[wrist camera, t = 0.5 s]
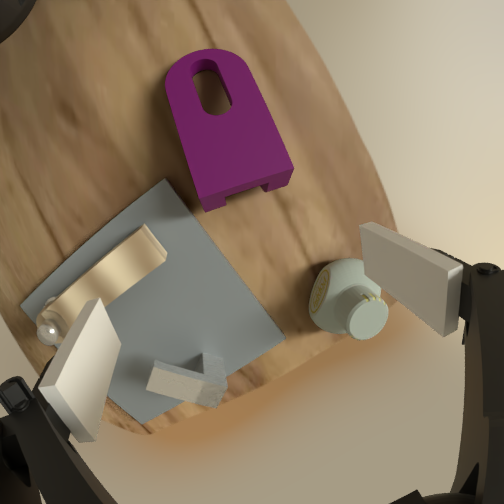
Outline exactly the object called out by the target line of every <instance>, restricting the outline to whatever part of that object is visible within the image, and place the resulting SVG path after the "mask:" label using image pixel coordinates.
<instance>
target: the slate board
mask: <svg viewBox="0 0 504 504" xmlns="http://www.w3.org/2000/svg"><path fill="white" fill-rule="evenodd" d="M144 223H145V225H146V226H147V227H148V229H149V230H150V231H151V232H152V234H153V235H154V236H155V238H156V239H157V240H158V241H159V243H160V244H161V245H162V247H163V248H164V249H165V250H166V252H167V257H166V261H165V262H163V263H162V264H161V265H159V266H158V267H157V268H155V269H154V270H153V271H151V272H150V273H149V274H147V275H146V276H145V277H143V278H142V279H141V280H139V281H138V282H137V283H135V284H134V285H133V286H131V287H130V288H129V289H128V290H126V291H125V292H124V293H122V294H121V295H120V296H118V297H117V298H116V299H115V300H113V301H112V302H111V303H109V304H108V305H107V306H106V307H104V308H105V310H106V312H107V314H108V317H109V319H110V321H111V323H112V325H113V328H114V330H115V332H116V334H117V336H118V338H119V340H120V342H121V347H120V351H119V354H118V357H117V361H116V364H115V368H114V371H113V375H112V378H111V382H110V386H109V389H108V393H107V396H108V397H109V398H110V399H111V400H113V401H114V402H115V403H116V404H117V405H119V406H120V407H121V408H122V409H123V410H125V411H126V412H127V413H128V414H130V415H131V416H132V417H133V418H135V419H136V420H137V421H138V422H140V423H141V424H143V423H145V422H147V421H149V420H151V419H153V418H155V417H157V416H159V415H160V414H162V413H164V412H166V411H168V410H170V409H171V408H173V407H175V406H177V405H179V404H181V403H182V402H184V400H180V399H176V398H173V397H169V396H165V395H162V394H158V393H155V392H151V391H148V390H146V384H147V380H148V377H149V374H150V371H151V369H152V366H153V363H154V360H157V361H161V362H164V363H167V364H170V365H174V366H177V367H180V368H184V369H187V370H191V371H195V368H196V366H197V364H198V362H199V359H200V357H201V355H202V353H206V354H210V355H213V356H217V357H220V358H223V364H224V369H225V375H226V377H227V376H228V375H230V374H232V373H233V372H235V371H237V370H238V369H240V368H241V367H243V366H245V365H246V364H248V363H249V362H251V361H253V360H254V359H256V358H257V357H259V356H260V355H262V354H263V353H265V352H267V351H268V350H270V349H271V348H273V347H274V346H276V345H277V344H279V343H280V342H282V341H283V340H285V339H286V337H285V335H284V333H283V332H282V331H281V329H280V328H279V327H278V326H277V324H276V323H275V322H274V320H273V319H272V318H271V317H270V315H269V314H268V313H267V311H266V310H265V309H264V308H263V306H262V305H261V304H260V302H259V301H258V300H257V298H256V297H255V296H254V295H253V293H252V292H251V291H250V289H249V288H248V287H247V285H246V284H245V283H244V281H243V280H242V279H241V278H240V276H239V275H238V274H237V272H236V271H235V270H234V268H233V267H232V266H231V264H230V263H229V262H228V260H227V259H226V258H225V256H224V255H223V254H222V252H221V251H220V250H219V248H218V247H217V246H216V245H215V243H214V242H213V241H212V239H211V238H210V236H209V235H208V234H207V232H206V231H205V230H204V228H203V227H202V226H201V224H200V223H199V222H198V220H197V219H196V218H195V216H194V215H193V214H192V212H191V211H190V210H189V208H188V207H187V206H186V204H185V203H184V201H183V200H182V199H181V197H180V196H179V195H178V193H177V192H176V191H175V189H174V188H173V186H172V185H171V184H170V182H169V181H168V180H167V178H164V179H163V180H162V181H160V182H159V183H158V184H156V185H155V186H154V187H153V188H151V189H150V190H149V191H147V192H146V193H145V194H143V195H142V196H141V197H140V198H138V199H137V200H136V201H135V202H133V203H132V204H131V205H130V206H128V207H127V208H126V209H125V210H123V211H122V212H121V213H120V214H119V215H117V216H116V217H115V218H114V219H113V220H111V221H110V222H109V223H108V224H107V225H105V226H104V227H103V228H102V229H101V230H100V231H98V232H97V233H96V234H95V235H94V236H93V237H91V238H90V239H89V240H88V241H87V242H86V243H85V244H84V245H82V246H81V247H80V248H79V249H78V250H77V251H76V252H75V253H74V254H72V255H71V256H70V257H69V258H68V259H67V260H66V261H65V262H64V263H63V264H62V265H61V266H59V267H58V268H57V269H56V270H55V271H54V272H53V273H52V274H51V275H50V276H49V277H48V278H47V279H46V280H45V281H44V282H43V283H42V284H41V285H40V286H39V287H38V288H37V289H36V290H35V291H34V292H33V293H32V294H31V295H30V296H29V297H28V298H27V299H26V300H25V301H24V302H23V303H22V304H21V305H20V307H21V308H22V309H23V310H24V312H25V313H26V314H27V315H28V316H29V318H30V319H31V320H32V321H33V322H34V323H35V325H36V326H37V324H36V319H37V316H38V314H39V313H40V312H41V310H42V309H43V308H44V305H45V303H46V301H47V300H48V299H49V298H51V297H54V296H59V295H60V294H61V293H62V292H63V291H64V290H65V289H66V288H68V287H69V286H70V285H71V284H72V283H73V282H74V281H75V280H77V279H78V278H79V277H80V276H81V275H82V274H83V273H85V272H86V271H87V270H88V269H89V268H90V267H92V266H93V265H94V264H95V263H96V262H97V261H99V260H100V259H101V258H102V257H103V256H105V255H106V254H107V253H108V252H109V251H111V250H112V249H113V248H114V247H115V246H117V245H118V244H119V243H120V242H122V241H123V240H124V239H125V238H127V237H128V236H129V235H130V234H132V233H133V232H134V231H135V230H137V229H138V228H139V227H140V226H142V225H143V224H144ZM61 344H62V343H59V344H56V343H55V344H54V345H55V346H56V347H57V349H59V347H60V346H61Z"/></svg>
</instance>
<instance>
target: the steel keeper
mask: <svg viewBox="0 0 504 504" xmlns="http://www.w3.org/2000/svg"><path fill="white" fill-rule="evenodd" d="M227 387H228V386H227V381H226V375H225V369H224V364H223V358H220V357H217V356H213V355H210V354H206V353H202V355H201V357H200V359H199V362H198V364H197V366H196V368H195V371H191V370H187V369H184V368H180V367H177V366H174V365H170V364H167V363H164V362H161V361H157V360H154V363H153V366H152V369H151V371H150V374H149V377H148V380H147V384H146V390H148V391H151V392H155V393H158V394H162V395H165V396H169V397H173V398H176V399H180V400H184V401H188V402H192V403H196V404H200V405H204V406H208V407H213V408H217V406H218V404H219V403H220V401H221V399H222V397H223V395H224V393H225V391H226V389H227Z"/></svg>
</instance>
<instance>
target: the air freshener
mask: <svg viewBox="0 0 504 504" xmlns="http://www.w3.org/2000/svg"><path fill="white" fill-rule="evenodd" d="M380 293H381V287H380V286H378V285H377V284H376V283H375V282H373V281H372V280H371V279H369V278H368V277H367V276H365V274H364V263H363V261H362V260H359V259H355V258H344V259H339V260H336V261H334V262H332V263H330V264H328V265H327V266H325V267H324V268H323V269H322V270H321V271H320V273H319V275H318V277H317V279H316V281H315V283H314V286H313V289H312V292H311V296H310V301H309V314H310V317H311V319H312V320H313V321H314V323H315V324H316V325H317V326H318V327H319V328H321V329H323V330H324V331H327V332H330V333H335V334H344V333H348V334H349V335H350V336H351V337H352V338H353V339H357V340H366V339H369V338H371V337H373V336H375V335H376V334H377V333H378V332H380V331H381V329H382V328H383V327H384V325H385V323H386V321H387V317H388V307H387V305H386V303H385V302H384V301H383V300H382V299H381V298H380Z"/></svg>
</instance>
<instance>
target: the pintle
mask: <svg viewBox="0 0 504 504" xmlns="http://www.w3.org/2000/svg"><path fill="white" fill-rule="evenodd" d="M56 297H58V296H54V297H51V298H49V299H48V300H47V301H46V303H45V305H44V307H45V306H46V305H47V303H48V302H50V301H52V300H54V299H55V298H56ZM60 334H61V328H60V326H59V324H58V323H57V322H56V321H55V320H53V319H45V320H44V321H43V323H42V324H41V325H40V327H39V328H38V329H37V336H38V338H39V340H40V341H41V342H42V343H43V344H45V345H48V346H51V345H54V344H55V342H56V341H57V339H58V337H59V336H60Z"/></svg>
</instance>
